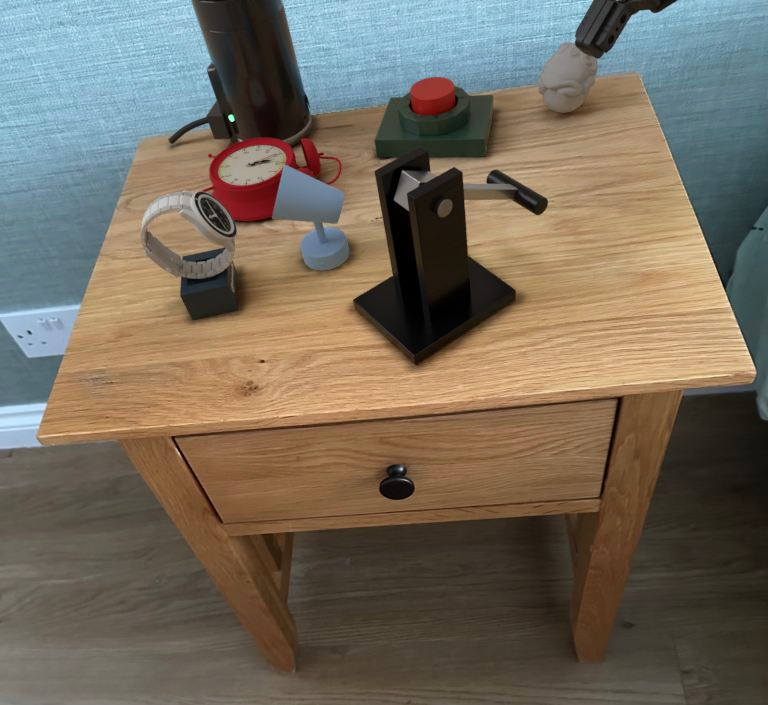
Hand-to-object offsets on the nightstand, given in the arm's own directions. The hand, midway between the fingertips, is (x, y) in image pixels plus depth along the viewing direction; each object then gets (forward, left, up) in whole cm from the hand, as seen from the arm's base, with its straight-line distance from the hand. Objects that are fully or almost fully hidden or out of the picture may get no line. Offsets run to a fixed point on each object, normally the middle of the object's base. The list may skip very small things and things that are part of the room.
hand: (586, 52), depth 54 cm
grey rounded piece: (-1, +19, -16) cm, 25 cm away
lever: (-9, -10, -8) cm, 15 cm away
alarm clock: (-31, +3, -16) cm, 36 cm away
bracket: (-11, -13, -16) cm, 23 cm away
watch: (-32, -13, -16) cm, 38 cm away
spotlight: (-23, -7, -16) cm, 29 cm away
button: (-15, +14, -12) cm, 25 cm away
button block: (-15, +14, -16) cm, 27 cm away
